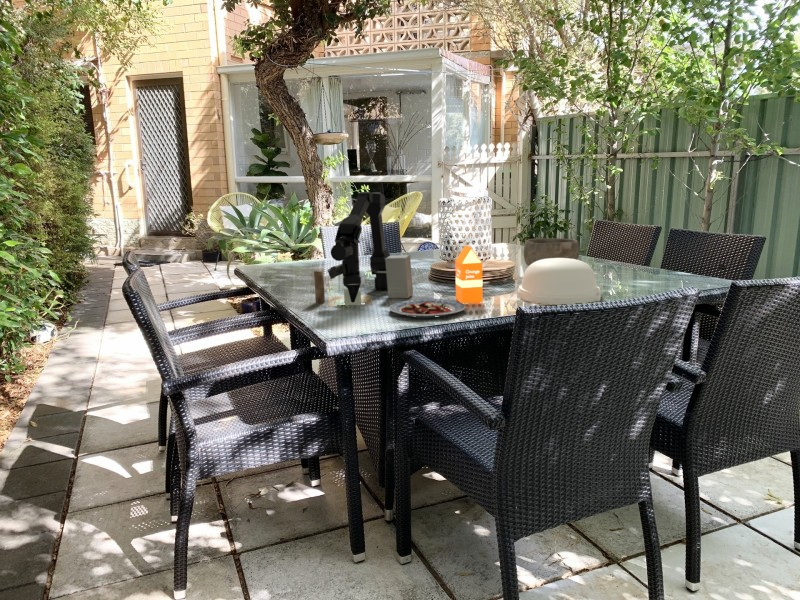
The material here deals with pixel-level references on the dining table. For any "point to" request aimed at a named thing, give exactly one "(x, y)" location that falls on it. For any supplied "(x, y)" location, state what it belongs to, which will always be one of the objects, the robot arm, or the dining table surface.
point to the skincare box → (399, 276)
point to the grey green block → (348, 300)
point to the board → (364, 298)
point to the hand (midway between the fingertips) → (352, 299)
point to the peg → (319, 287)
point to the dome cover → (559, 282)
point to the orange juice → (468, 277)
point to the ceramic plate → (427, 307)
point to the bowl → (550, 249)
